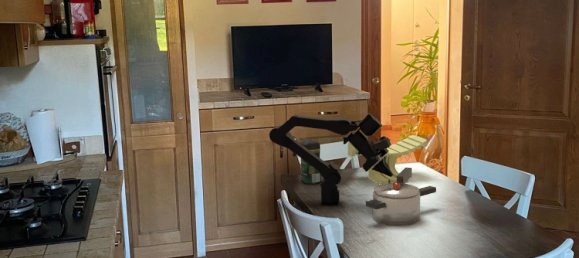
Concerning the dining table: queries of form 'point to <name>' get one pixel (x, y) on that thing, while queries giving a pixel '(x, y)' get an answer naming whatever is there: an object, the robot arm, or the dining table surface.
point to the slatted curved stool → (392, 157)
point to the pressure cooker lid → (398, 187)
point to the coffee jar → (308, 171)
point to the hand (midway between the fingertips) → (392, 175)
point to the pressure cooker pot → (398, 208)
